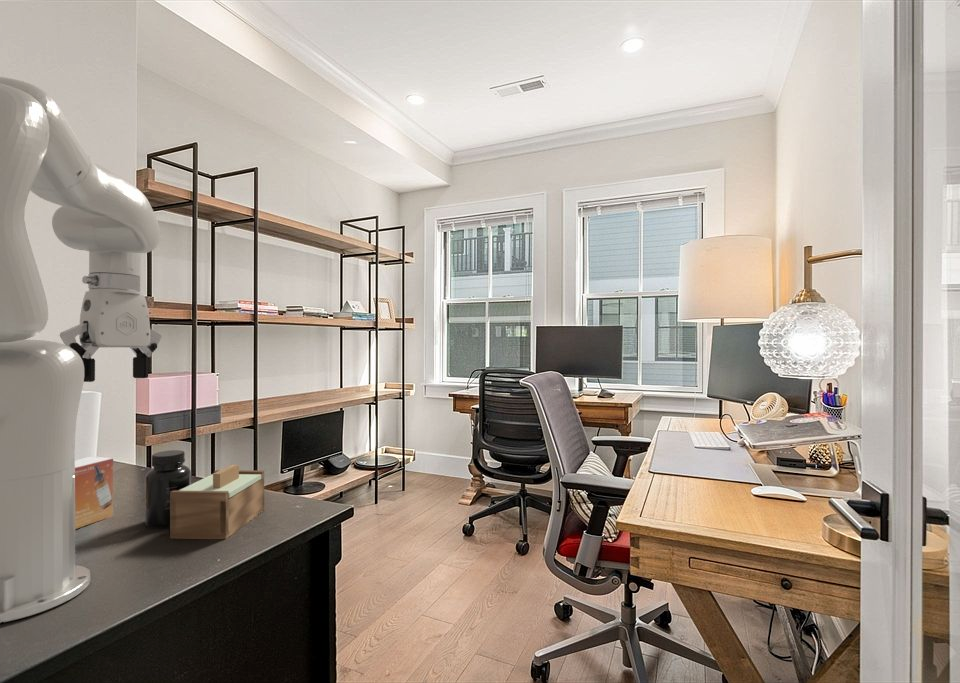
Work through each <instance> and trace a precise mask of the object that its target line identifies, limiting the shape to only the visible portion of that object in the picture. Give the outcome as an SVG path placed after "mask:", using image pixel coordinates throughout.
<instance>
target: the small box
mask: <svg viewBox="0 0 960 683" xmlns="http://www.w3.org/2000/svg"><path fill="white" fill-rule="evenodd" d="M113 516H114V458H113V457H99V456H87V457H86V456H85V457H82V458H79V459H75V530H77V529H79V528H82V527H85V526H88V525H90V524H94V523H97V522H99V521H103V520H106V519H109V518H112V517H113Z"/></svg>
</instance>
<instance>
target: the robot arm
mask: <svg viewBox="0 0 960 683" xmlns="http://www.w3.org/2000/svg"><path fill="white" fill-rule="evenodd" d="M30 192H31V193H33V194H34V195H35V196H37V197H39V198H41V199H42V200H44V201H47V202H50V203H52V204H54V205H58V206H60V207H58V208H57V209H56V210H55V211H54V212H53V215H52V220H51V225H52V230H53V233H54V234H55V237H56V238H57V239H58V240H59V241H60V242H61V243H62V244H64V245H66V247H68V248H70V249H73V250H76V251H77V250H79V251H86V252H88V275H83V277H82V283H83V284H85V285H86V284H87V285H88V286H87V287H88V290H87V291H85V293H84V295H83V300H82V303H81V310H80V315H79V324H77V325H75V326H72V327H70V328H68V329H65V330H63V331H61V332H60V333H59V337H60V339H61V340H62V343H60V342H57V341H50V340H43V339H30V338H33V337H35V336H37V335H39V333H41V332H42V331H43V330H44V329H45V328H46V325H47V323H48V320H49V306H48V301H47V297H46V292H45V288H44V285H43V282H42V279H41V275H40V272H39V269H38V266H37V263H36V259H35V255H34V252H33V249H32V246H31V243H30V239H29V235H28V232H27V228H26V223H25V211H26V210H25V209H26V204H27V201H28V197H29V194H30ZM160 239H161V229H160V224H159V222H158V218H157V216H156V214H155V210H154V209H153V207H152V205H151V203H150V202H149V199H148V198H147V197H146V195H145V194H144V193H143V192H142V191H141V190H140V189H139V188H137V187H136V186H134V185H133V184H131V182H128V181H127V180H125V179H123V178H122V177H120V176H118V175H116V174H115V173H113V172H111V171H110V170H108V169H107V168H105V167H103V166H101V165H98V164H97V163H95V162H93V161H92V160H91V157H90V156H89V155H88V153H87V151H86V149H85V148H84V146H83V144H82V143H81V141H80V140H79V138H78V136H77V134H76V133H75V131H74V130H73V128H72V126H71V124H70V123H69V121H68V119H67V118H66V116H65V114H64V113H63V111H62V109H61V108H60V106H59V104H58V103H57V102H56V101H55V100H54V98H53V97H51V95H49V94H48V93H47V92H46V91H45V90H43V89H42V88H40V87H38V86H36V85H34V84H31V83H30V82H25V81H22V80H18V79H13V78H9V77H4V76H3V77H2V76H0V624H1V623H2V622H3V623H7V622H12V621H16V620H20V619H23V618H26V617H27V618H28V617H31V616H35V615H36V614H40V613H43V612H45V611H48V610H50V609H53V608H55V607H57V606H60V605H62V604H64V603H66V602H67V601H69V600H72V599H73V598H75V597H76V596H78V595H79V594H80V593H82V592H83V591H84V590H86V588H88V586H89V585H90V583H91V578H92V577H91V571H90V569H88V568H87V567H85V566H81V565H77V564H76V529H75V460H76V457H75V456H76V431H77V430H76V429H77V427H76V426H77V417H78V411H79V406H80V400H81V396H82V391H83V386H84V383H92V382H93V383H94V382H95V380H96V360H95V358H92V356H93V355H94V354H95V353H96V352H97V351H98V350H99V348H129V349H130V350H131V351H132V353H134V355H135V356H134V357H133V358H132V377H133V378H134V379H148V378H149V372H150V371H149V369H150V367H149V365H150V363H149V360H150V359H149V358H151V357H152V356H153V353H154V352H155V351H156V349H157V348H158V344H159V343H160V341H161V339H162V335H161V334H160V333H158V332H157V331H155V330H154V329H152V328H151V325H150V314H149V308H148V302H147V300H146V297H145V296H146V295H144V294H141V254H146V253H151V252H152V251H154V250H155V249H156V248H157V247H158V245H160V244H159V243H160V241H161V240H160ZM77 336H79V337H78V338H79V343H80V344H79V343H78V341H77V339H76V338H77Z"/></svg>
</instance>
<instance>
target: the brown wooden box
mask: <svg viewBox="0 0 960 683" xmlns="http://www.w3.org/2000/svg"><path fill="white" fill-rule="evenodd" d="M220 470H221V469H216V470H214V471H213V474H214V473H216V472H218V471H220ZM239 474H261V479H260V480H258V481H257V482H255V483H254V484H252V485H250V486H249V487H247V488H245V489H244V490H242V491H240V492H239V493H237V494H235V495H234V496H232V497H230V498H228V491H171V492H170V527H169V538H170V539H180V540H181V539H185V540H186V539H187V540H189V539H190V540H191V539H192V540H195V539H196V540H227V539H228V538H229V537H230V536H232V535H233V534H235V533H236V532H237V531H239V530H240V529H241V528H243V527H244V526H245V525H246V524H248V523H249V522H251V521H253V519H254V517H255V516H256V517H257V516H259V515H260V514H261V513H263V512H264V511H265V470H256V469H255V470H254V469H253V470H251V469H250V470H249V469H246V470H244V469H243V470H240V469H239ZM263 510H264V511H263ZM262 511H263V512H262ZM260 512H261V513H260ZM259 513H260V514H259ZM258 514H259V515H258ZM256 517H255V518H256ZM250 520H251V521H250Z"/></svg>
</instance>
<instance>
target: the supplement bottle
mask: <svg viewBox="0 0 960 683" xmlns="http://www.w3.org/2000/svg"><path fill="white" fill-rule="evenodd" d="M185 454H186V453H185V451H184V450H180V449H172V450H163V451H159V452H155V453H153V454H152V455H151V463H150V464H151V467H152V469H150V470H148V472H147V473H146V474H145V477H144V523H145V525H146V526H147V527H148V528H151V529H167V528H170V492H171V491H179V490H181V489H183V488H185V487H187V486H189V485H191V484H192V471H191V469H190V467H188V466H186V465H185V464H184V463H186V457H185Z"/></svg>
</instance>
